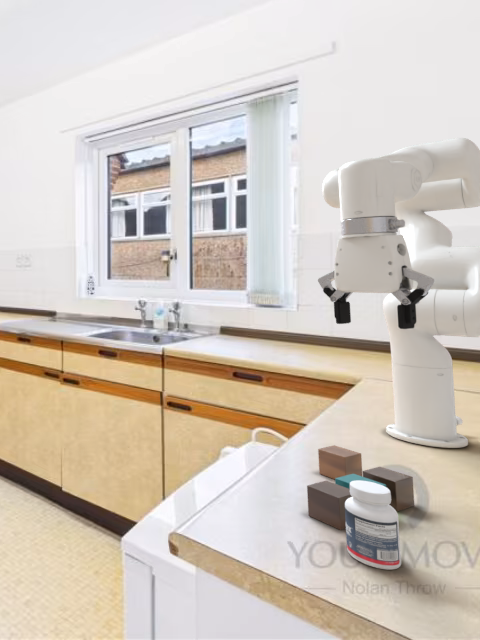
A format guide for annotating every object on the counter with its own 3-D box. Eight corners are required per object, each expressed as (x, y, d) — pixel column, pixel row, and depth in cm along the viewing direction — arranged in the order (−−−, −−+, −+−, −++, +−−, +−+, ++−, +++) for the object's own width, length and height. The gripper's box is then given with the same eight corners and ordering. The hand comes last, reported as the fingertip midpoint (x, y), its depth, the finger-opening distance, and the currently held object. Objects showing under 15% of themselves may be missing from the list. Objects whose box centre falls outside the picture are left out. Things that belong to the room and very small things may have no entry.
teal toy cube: (354, 501, 75) (353, 473, 75) (387, 514, 71) (386, 484, 71) (336, 507, 73) (334, 478, 73) (369, 520, 69) (367, 489, 69)
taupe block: (381, 494, 77) (379, 466, 77) (414, 506, 73) (413, 476, 73) (363, 499, 76) (362, 470, 76) (397, 511, 72) (395, 481, 72)
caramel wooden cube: (335, 469, 87) (334, 445, 87) (362, 479, 83) (361, 453, 83) (319, 473, 85) (318, 448, 86) (346, 483, 81) (344, 457, 81)
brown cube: (327, 509, 73) (326, 480, 73) (360, 523, 68) (358, 492, 69) (308, 515, 71) (306, 485, 71) (340, 530, 67) (338, 498, 67)
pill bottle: (350, 541, 64) (347, 474, 64) (403, 557, 60) (399, 486, 61) (343, 558, 60) (339, 486, 61) (398, 576, 57) (394, 500, 57)
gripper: (442, 224, 78) (448, 329, 78) (330, 233, 95) (334, 320, 94) (415, 223, 76) (421, 332, 75) (304, 233, 92) (308, 322, 91)
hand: (373, 325), depth 84 cm, fingers open, 9 cm apart
